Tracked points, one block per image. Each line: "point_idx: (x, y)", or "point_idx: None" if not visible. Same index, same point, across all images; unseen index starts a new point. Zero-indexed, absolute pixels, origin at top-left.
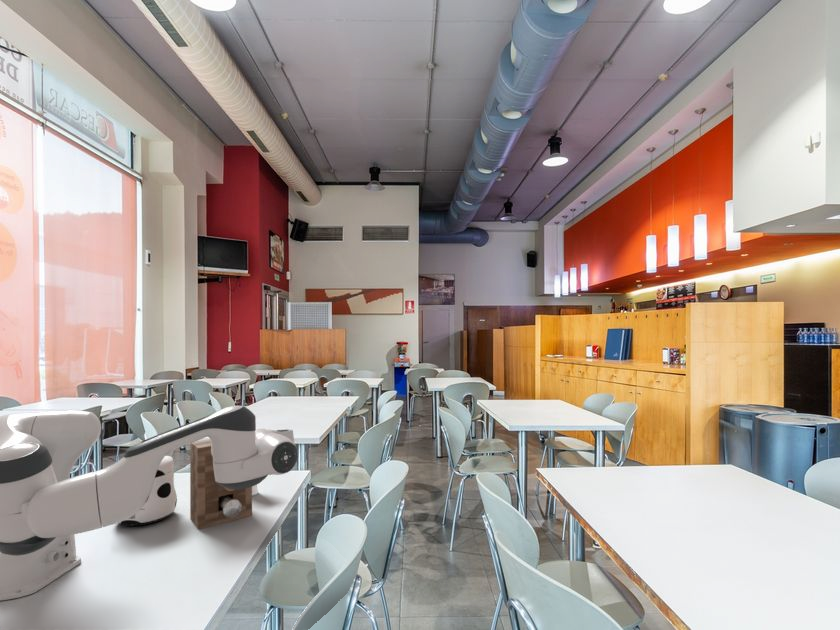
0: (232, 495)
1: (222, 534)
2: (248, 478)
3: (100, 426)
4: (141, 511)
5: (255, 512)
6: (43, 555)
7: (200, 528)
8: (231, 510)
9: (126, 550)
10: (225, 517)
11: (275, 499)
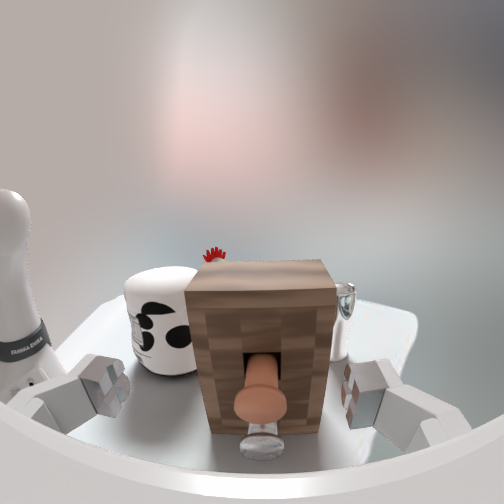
0: None
1: None
2: None
3: (11, 217)
4: (147, 359)
5: (327, 423)
6: (7, 391)
7: (215, 432)
8: (259, 451)
9: (104, 422)
10: None
11: None
